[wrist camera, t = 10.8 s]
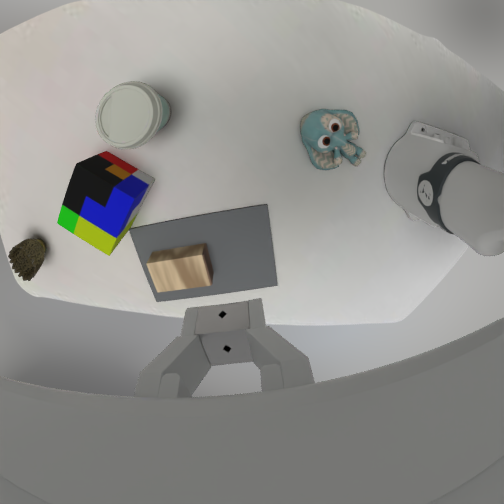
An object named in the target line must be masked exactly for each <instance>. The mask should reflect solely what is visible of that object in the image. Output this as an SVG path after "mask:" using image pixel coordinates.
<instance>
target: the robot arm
mask: <svg viewBox="0 0 504 504" xmlns="http://www.w3.org/2000/svg"><path fill="white" fill-rule="evenodd" d="M421 128H422V129H423V130H422V131H421ZM384 177H385V184H386V188H387V191H388V193H389V195H390V197H391V198H392V199H393V200H394V202H396V203H397V204H398V205H399V206H401V207H402V208H403V209H404V210H405V212H406V213H407V215H408V217H409V218H410V219H412V220H414V221H416V220H419V219H420V220H422V221H424V222H425V223H427V224H429V225H430V226H432V227H437V226H438V227H440V228H441V229H443V230H444V231H447V232H448V233H451V234H455V235H456V236H457V237H459V238H460V239H461V240H462V241H464V242H465V243H466V244H467V245H468V246H470V247H471V248H472V249H473V250H475V251H476V252H477V253H478V254H480V255H483V256H495V255H499V254H501V253H503V252H504V173H502V172H499V171H496V170H493V169H490V168H488V167H485V166H483V165H480V163H479V159H478V156H477V154H476V153H475V152H472V151H471V150H470V146H469V143H468V141H467V140H466V139H465V138H462V137H460V136H458V135H455V134H452V133H450V132H447V131H444V130H442V129H439V128H436V127H433V126H430V125H427V124H424V123H421V122H417V121H414V122H412V123H411V125H410V126H409V128H408V130H407V132H406V134H405V135H404V136H403V137H402V138H401V139H399V140H398V141H397V142H396V143H395V144H394V146H393V147H392V149H391V150H390V152H389V154H388V157H387V160H386V164H385V171H384ZM242 362H254V364H255V365H256V366H257V367H258V368H259V369H260V372H261V387H262V392H255V393H245V394H235V395H223V396H208V397H192V394H193V393H194V391H195V390H196V388H197V387H198V386H199V384H200V383H201V381H202V380H203V378H204V377H205V375H206V374H207V372H208V371H209V369H210V368H211V366H215V365H224V364H232V363H242ZM0 504H504V318H502V319H499V320H497V321H495V322H493V323H491V324H489V325H487V326H486V327H483V328H481V329H479V330H477V331H475V332H473V333H471V334H468V335H466V336H464V337H462V338H459V339H457V340H455V341H452V342H450V343H448V344H445V345H443V346H440V347H438V348H435V349H432V350H430V351H427V352H424V353H422V354H419V355H416V356H413V357H411V358H407V359H404V360H402V361H399V362H395V363H392V364H389V365H385V366H382V367H379V368H375V369H372V370H368V371H364V372H361V373H357V374H353V375H349V376H345V377H340V378H336V379H332V380H328V381H322V382H317V383H315V382H314V378H313V375H312V370H311V366H310V362H309V358H308V357H307V356H306V355H304V354H303V353H302V352H301V351H299V350H298V349H297V348H296V347H294V346H293V345H292V344H291V343H289V342H288V341H287V340H285V339H284V338H283V337H282V336H281V335H279V334H278V333H277V332H276V331H274V330H273V329H272V328H271V327H269V326H266V323H265V317H264V310H263V304H262V299H261V298H259V299H253V300H249V301H243V302H236V303H229V304H220V305H211V306H201V307H193V308H187V309H186V312H185V316H184V321H183V326H182V331H181V336H180V337H176V338H175V339H174V340H173V341H172V342H171V343H170V344H169V345H168V346H167V347H166V348H165V349H164V350H163V351H162V352H161V353H160V354H159V355H158V356H157V357H156V358H155V359H154V360H153V361H152V362H151V363H150V364H149V365H148V366H147V367H145V368H144V369H143V370H142V371H141V373H140V374H139V378H138V382H137V385H136V389H135V393H134V397H124V396H110V395H98V394H89V393H80V392H73V391H67V390H60V389H53V388H48V387H43V386H38V385H33V384H28V383H24V382H20V381H15V380H11V379H8V378H4V377H1V376H0Z"/></svg>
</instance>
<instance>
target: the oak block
mask: <svg viewBox="0 0 504 504" xmlns="http://www.w3.org/2000/svg"><path fill="white" fill-rule="evenodd" d="M146 264H147V267H148V269H149V272H150V275H151V277H152V280H153V282H154V285H155V287H156V290H157V292H166V291H174V290H181V289H189V288H196V287H204V286H211V285H212V283H213V274H214V272H213V268H212V264H211V260H210V256H209V252H208V248H207V244H206V243H203V244H197V245H191V246H185V247H179V248H173V249H167V250H161V251H155V252H152V254H151V256H150V257H149V259H148V261H147V263H146Z"/></svg>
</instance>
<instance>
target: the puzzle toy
mask: <svg viewBox="0 0 504 504" xmlns="http://www.w3.org/2000/svg"><path fill="white" fill-rule="evenodd" d="M154 181H155V179H154V178H152V177H150V176H149V175H147V174H145V173H143V172H142V171H140V170H138V169H137V168H135V167H133V166H131V165H130V164H128V163H126V162H125V161H123V160H121V159H119V158H118V157H116V156H114V155H113V154H111V153H109V152H107V151H105V152H103V153H100V154H98V155H95V156H93V157H91V158H88V159H86V160H84V161H81V162H79V163H77V164H76V166H75V168H74V171H73V174H72V177H71V179H70V182H69V185H68V188H67V191H66V194H65V198H64V201H63V204H62V207H61V211H60V214H59V218H58V222H57V223H58V224H59V225H61V226H62V227H64V228H65V229H67V230H68V231H70V232H71V233H73V234H75V235H76V236H78V237H79V238H81V239H82V240H84V241H86V242H87V243H89V244H90V245H92V246H94V247H95V248H97V249H99V250H100V251H102V252H104V253H105V254H107V255H109V256H110V254H111V253H112V252H113V250H114V249H115V247H116V246H117V245H118V243H119V242H120V241H121V239H122V238H123V237H124V236H125V234H126V233H127V232H128V230H129V229H130V228H131V226H132V224H133V222H134V220H135V218H136V215H137V213H138V211H139V209H140V207H141V205H142V204H143V202H144V200H145V198H146V196H147V194H148V192H149V190H150V188H151V186H152V185H153V183H154Z"/></svg>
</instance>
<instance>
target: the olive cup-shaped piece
mask: <svg viewBox="0 0 504 504" xmlns="http://www.w3.org/2000/svg"><path fill="white" fill-rule="evenodd" d="M45 251H46V246H45V243H44V242H43V241H42V240H41V239H26V240H24V241H22V242H21V243H19V244H18V245H16V246H14V247H13V249H12V250H11V251H10V252H9V253H10V254H9V256H8V257H9V258H10V259H11V260H10V263H13V266H12V269H15V273H19V272H20V273H19V275H18V276H19V277H21V276H23V280H24V281H25V280H28V281H30V280H31V279H32V278H34V276H35V275H36V273H37V272H38V270H39V269H40V267H41V265H42V263H43V261H44V253H45Z"/></svg>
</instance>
